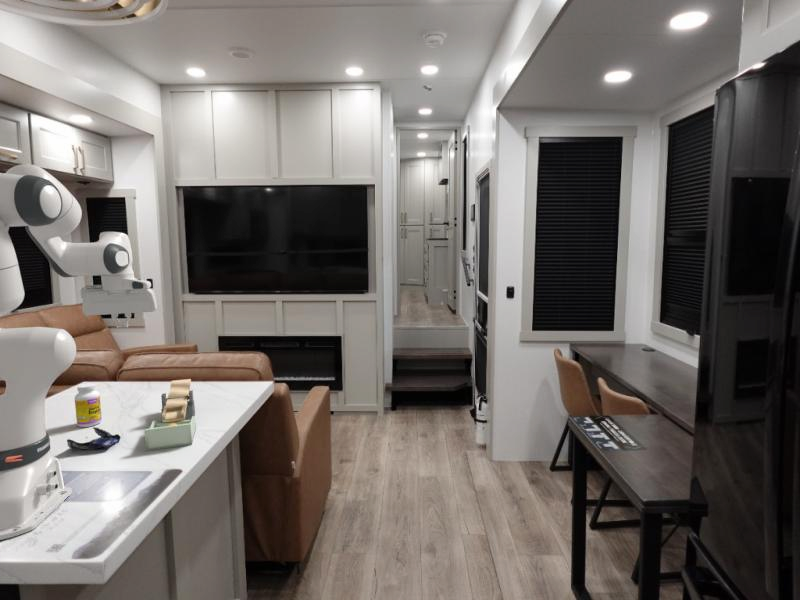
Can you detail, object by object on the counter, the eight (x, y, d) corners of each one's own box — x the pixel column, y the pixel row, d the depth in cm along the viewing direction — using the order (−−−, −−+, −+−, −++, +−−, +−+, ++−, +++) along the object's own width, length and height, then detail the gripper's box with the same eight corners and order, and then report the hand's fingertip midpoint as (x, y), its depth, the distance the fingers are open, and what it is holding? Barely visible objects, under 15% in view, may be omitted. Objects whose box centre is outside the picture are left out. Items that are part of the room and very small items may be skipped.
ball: (178, 419, 137) (180, 428, 139) (165, 421, 136) (167, 430, 138) (177, 428, 135) (179, 437, 136) (164, 430, 134) (166, 438, 135)
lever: (186, 425, 141) (184, 412, 139) (162, 428, 139) (160, 415, 137) (192, 386, 162) (191, 374, 161) (171, 388, 160) (170, 376, 159)
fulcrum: (193, 421, 149) (191, 394, 148) (162, 425, 146) (160, 397, 145) (195, 414, 155) (193, 388, 154) (165, 418, 152) (163, 392, 151)
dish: (191, 444, 131) (190, 424, 130) (146, 451, 127) (144, 430, 127) (195, 428, 143) (194, 409, 142) (154, 433, 139) (152, 414, 139)
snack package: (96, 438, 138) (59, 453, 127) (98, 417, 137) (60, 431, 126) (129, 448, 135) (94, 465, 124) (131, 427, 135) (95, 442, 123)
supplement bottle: (89, 428, 144) (85, 388, 143) (72, 427, 146) (67, 387, 144) (107, 420, 151) (103, 382, 150) (90, 419, 152) (86, 381, 151)
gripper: (76, 286, 138) (81, 331, 140) (152, 283, 145) (156, 326, 146) (83, 284, 144) (87, 328, 146) (156, 281, 150) (159, 323, 152)
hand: (122, 327), depth 146 cm, fingers closed
